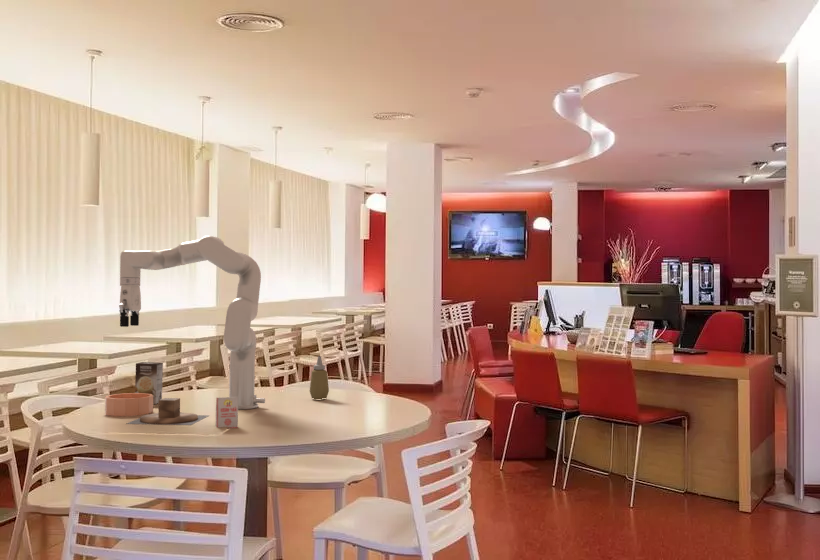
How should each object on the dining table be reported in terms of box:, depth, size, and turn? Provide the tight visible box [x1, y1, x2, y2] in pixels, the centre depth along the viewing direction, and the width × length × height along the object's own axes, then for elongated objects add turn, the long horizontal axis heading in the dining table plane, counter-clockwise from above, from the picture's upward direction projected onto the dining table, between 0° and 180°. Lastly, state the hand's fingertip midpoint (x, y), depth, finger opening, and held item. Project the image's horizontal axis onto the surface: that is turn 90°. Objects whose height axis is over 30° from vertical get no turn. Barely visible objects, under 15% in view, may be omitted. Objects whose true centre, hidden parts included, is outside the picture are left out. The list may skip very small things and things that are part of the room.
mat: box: [126, 414, 210, 426], centre depth 265 cm, size 22×20×1 cm
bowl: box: [104, 392, 154, 417], centre depth 280 cm, size 16×16×6 cm
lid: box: [139, 397, 198, 425], centre depth 265 cm, size 19×19×7 cm
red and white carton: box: [215, 396, 239, 429], centre depth 254 cm, size 4×7×10 cm, turn 109°
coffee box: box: [134, 361, 164, 405], centre depth 308 cm, size 9×6×16 cm
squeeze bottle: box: [309, 356, 330, 399], centre depth 322 cm, size 8×8×18 cm
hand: (129, 326), depth 301 cm, fingers open, 9 cm apart
